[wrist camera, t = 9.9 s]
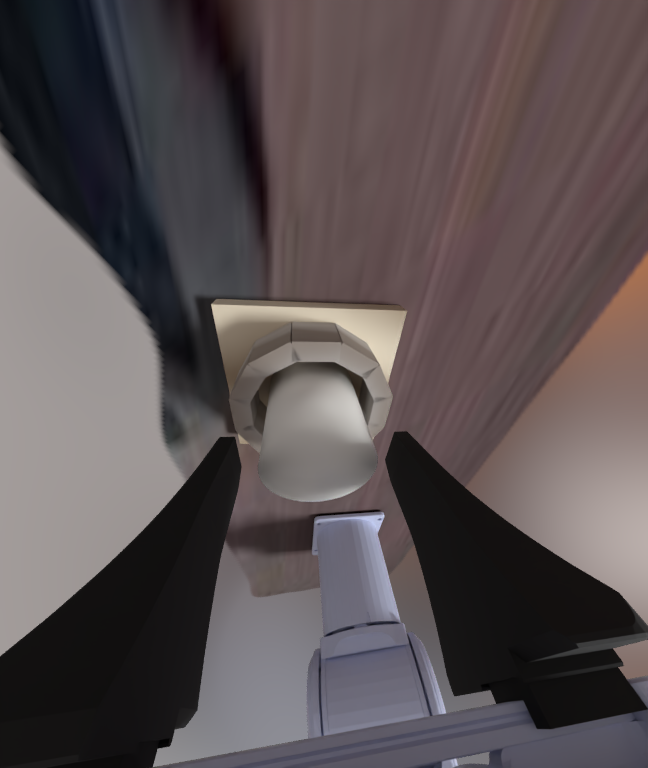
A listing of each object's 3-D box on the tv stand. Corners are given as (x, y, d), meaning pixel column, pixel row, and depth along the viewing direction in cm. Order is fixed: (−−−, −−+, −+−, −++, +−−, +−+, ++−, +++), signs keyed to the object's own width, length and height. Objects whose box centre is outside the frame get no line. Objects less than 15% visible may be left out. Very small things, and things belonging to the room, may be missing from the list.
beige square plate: (369, 429, 19) (383, 466, 16) (242, 433, 18) (232, 474, 15) (400, 305, 13) (428, 328, 10) (216, 298, 12) (192, 322, 9)
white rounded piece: (345, 415, 16) (367, 498, 11) (273, 417, 16) (263, 505, 11) (355, 351, 14) (389, 424, 9) (267, 351, 13) (251, 428, 8)
